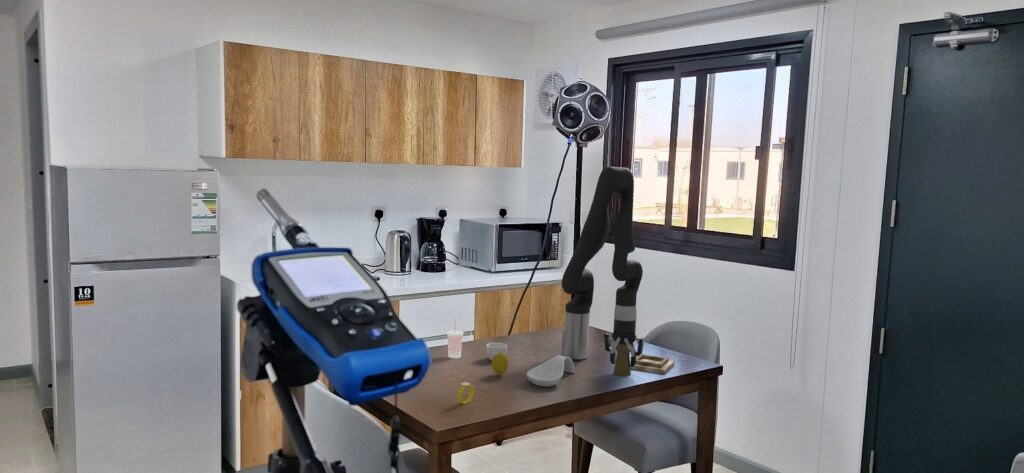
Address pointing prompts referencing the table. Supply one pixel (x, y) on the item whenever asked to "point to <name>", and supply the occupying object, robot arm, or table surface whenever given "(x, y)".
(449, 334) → the beverage cup
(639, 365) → the socket board
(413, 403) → the table surface
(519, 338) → the table surface
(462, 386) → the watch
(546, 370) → the spoon rest
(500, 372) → the lemon
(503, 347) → the teacup
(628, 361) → the pepper mill
